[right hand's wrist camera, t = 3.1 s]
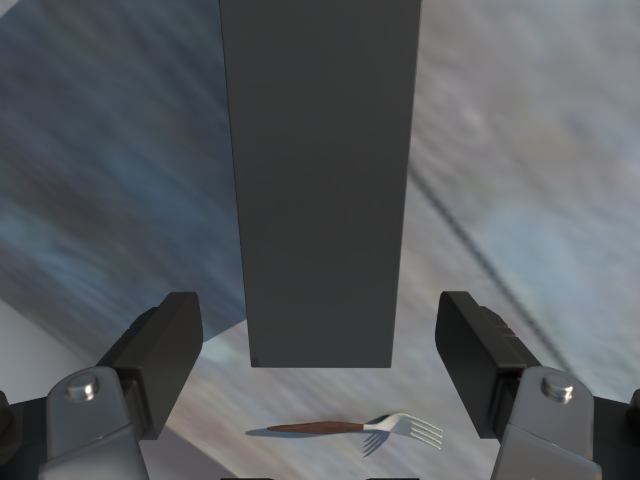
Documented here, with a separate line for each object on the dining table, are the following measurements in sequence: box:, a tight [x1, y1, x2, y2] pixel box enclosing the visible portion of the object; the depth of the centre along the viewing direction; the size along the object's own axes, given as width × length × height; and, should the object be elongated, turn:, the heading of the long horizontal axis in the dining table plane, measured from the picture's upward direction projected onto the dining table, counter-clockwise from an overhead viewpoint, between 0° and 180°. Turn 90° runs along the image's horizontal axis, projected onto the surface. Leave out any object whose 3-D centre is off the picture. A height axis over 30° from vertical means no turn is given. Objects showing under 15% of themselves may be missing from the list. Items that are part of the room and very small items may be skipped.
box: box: [219, 0, 423, 368], centre depth 17 cm, size 27×6×13 cm, turn 0°
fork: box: [267, 413, 443, 450], centre depth 32 cm, size 3×16×2 cm, turn 91°
